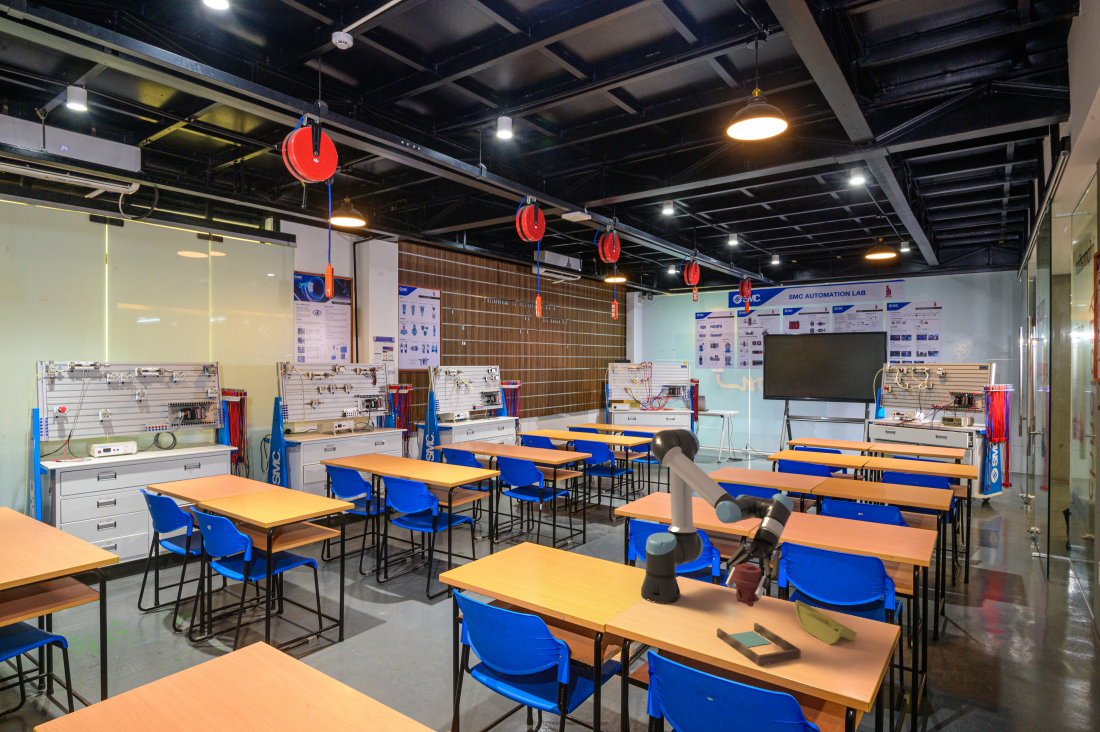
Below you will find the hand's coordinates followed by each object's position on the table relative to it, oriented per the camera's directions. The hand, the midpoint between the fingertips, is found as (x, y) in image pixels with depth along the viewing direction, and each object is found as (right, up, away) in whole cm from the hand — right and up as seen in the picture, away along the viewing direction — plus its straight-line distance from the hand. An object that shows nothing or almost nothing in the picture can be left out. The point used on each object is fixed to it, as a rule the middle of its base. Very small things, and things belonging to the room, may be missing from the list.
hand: (742, 590), depth 180 cm
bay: (+4, -16, -3) cm, 17 cm away
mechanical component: (+2, -5, +2) cm, 6 cm away
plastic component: (+31, -18, +9) cm, 37 cm away
